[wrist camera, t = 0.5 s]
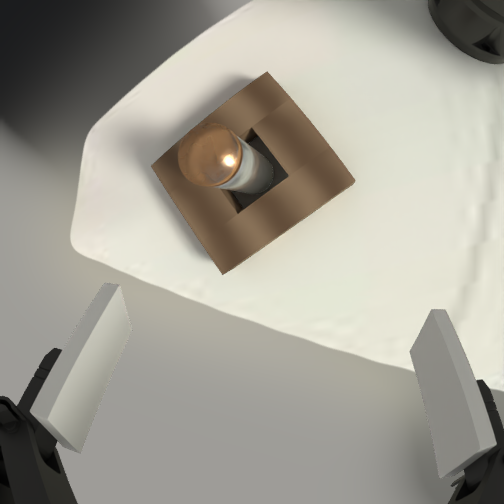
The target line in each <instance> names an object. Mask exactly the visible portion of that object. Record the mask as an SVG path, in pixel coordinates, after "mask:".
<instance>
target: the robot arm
mask: <svg viewBox="0 0 504 504" xmlns="http://www.w3.org/2000/svg"><path fill="white" fill-rule="evenodd" d="M428 6H429V10H430V13H431V16H432V18H433V20H434V22H435V23H436V25H437V26H438V28H439V29H440V30H441V32H442V33H443V34H444V35H445V36H446V37H447V38H448V39H449V40H450V41H451V42H452V43H453V44H454V45H455V46H457V47H458V48H459V49H460V50H462V51H463V52H465V53H466V54H468V55H470V56H472V57H474V58H476V59H478V60H480V61H483V62H487V63H491V64H502V63H504V0H428ZM131 332H132V327H131V324H130V320H129V317H128V313H127V310H126V306H125V302H124V299H123V295H122V291H121V287H120V285H118V284H111V283H104V284H103V286H102V287H101V289H100V290H99V292H98V293H97V295H96V296H95V298H94V300H93V301H92V302H91V304H90V306H89V307H88V309H87V310H86V312H85V313H84V315H83V317H82V318H81V320H80V322H79V323H78V325H77V326H76V328H75V330H74V331H73V333H72V335H71V336H70V338H69V340H68V341H67V343H66V345H65V347H64V348H63V350H61V349H57V348H54V349H52V350H51V351H50V352H49V353H48V354H47V355H46V356H45V357H44V359H43V360H42V362H41V364H40V365H39V369H37V371H36V372H35V374H34V377H33V378H32V380H31V381H30V383H29V385H28V387H27V389H26V390H25V392H24V394H23V396H22V398H21V400H20V402H19V404H18V405H17V406H16V405H15V404H14V403H13V402H12V401H11V400H10V399H9V398H8V397H5V396H0V504H78V503H77V501H76V499H75V496H74V494H73V492H72V489H71V487H70V484H69V481H68V479H67V476H66V473H65V471H64V468H63V465H62V462H61V460H60V457H59V454H58V451H57V449H56V447H55V446H56V443H57V441H58V442H59V443H60V444H61V445H62V446H63V447H65V448H67V449H70V450H72V451H75V452H78V453H81V451H82V448H83V445H84V443H85V440H86V437H87V435H88V432H89V430H90V427H91V425H92V422H93V420H94V417H95V415H96V412H97V410H98V407H99V405H100V402H101V400H102V397H103V395H104V393H105V391H106V388H107V386H108V383H109V381H110V379H111V377H112V374H113V372H114V370H115V367H116V365H117V363H118V361H119V358H120V356H121V354H122V352H123V350H124V347H125V345H126V343H127V341H128V339H129V337H130V334H131ZM410 355H411V358H412V362H413V365H414V369H415V372H416V375H417V379H418V383H419V387H420V390H421V394H422V398H423V402H424V406H425V410H426V414H427V418H428V423H429V427H430V432H431V437H432V441H433V446H434V451H435V456H436V462H437V467H438V473H439V479H441V478H445V477H450V476H454V475H456V474H458V473H459V472H461V471H462V470H464V472H465V475H463V476H462V477H460V478H459V479H457V480H456V481H454V482H453V483H452V485H451V486H452V487H453V486H455V485H456V484H458V483H459V484H458V486H457V487H456V490H455V491H454V493H453V495H452V497H451V499H450V501H449V503H448V504H504V429H503V425H502V422H501V419H500V416H499V413H498V411H497V410H496V409H497V408H496V405H495V402H493V400H494V399H493V396H492V394H491V391H490V389H489V387H488V386H487V385H486V383H485V382H484V381H483V380H476V379H475V377H474V374H473V372H472V369H471V366H470V364H469V361H468V359H467V357H466V354H465V352H464V349H463V347H462V345H461V342H460V340H459V338H458V336H457V333H456V331H455V329H454V327H453V325H452V322H451V320H450V318H449V316H448V314H447V312H446V310H441V309H431V311H430V313H429V315H428V317H427V319H426V321H425V323H424V325H423V327H422V329H421V331H420V333H419V335H418V337H417V339H416V341H415V343H414V344H413V346H412V348H411V350H410Z"/></svg>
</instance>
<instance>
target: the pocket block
mask: <svg viewBox="0 0 504 504" xmlns="http://www.w3.org/2000/svg"><path fill="white" fill-rule="evenodd" d="M204 123H217V124H221V125H223V126H225V127H226V128H228V129H229V130H231V131H232V132H233V133H234V134H235V135H236V136H238V137H239V138H241V139H242V140H243V141H245V142H246V143H247V144H248V143H249V142H251V141H252V140H253V139H255V138H256V137H257V136H259V137H260V138H261V140H262V141H263V142H264V144H265V145H266V146H267V147H268V149H269V150H270V151H271V153H272V154H273V155H274V157H275V158H276V159H277V161H278V162H279V163H280V165H281V166H282V167H283V169H284V170H285V171H286V173H287V174H288V175H289V177H287V178H286V179H284V180H283V181H282V182H280V183H279V184H278V185H276V186H275V187H274V188H272V189H271V190H269V191H268V192H267V193H265V194H264V195H263V196H261V197H260V198H259V199H257V200H256V201H255V202H253V203H252V204H251V205H249V206H248V207H247V208H245V209H243V207H242V206H241V204H240V203H239V202H238V200H237V199H236V197H235V196H234V194H233V193H232V192H231V190H227V189H221V188H216V187H206V186H201V185H197V184H194V183H192V182H191V181H189V180H188V179H187V178H186V177H185V176H184V175H183V173H182V171H181V169H180V167H179V163H178V151H179V147H180V144H181V142H182V140H183V138H184V137H185V136H186V135H185V136H184V137H183V138H181V139H180V140H179V141H178V142H177V143H176V144H175V145H173V146H172V147H171V148H170V149H169V150H168V151H167V152H166V153H164V154H163V155H162V156H161V157H160V158H159V159H158V160H157V161H156V162H155V163H154V164H153V165H151V167H152V169H153V170H154V172H155V173H156V175H157V177H158V178H159V180H160V181H161V183H162V184H163V186H164V187H165V189H166V191H167V192H168V194H169V195H170V197H171V198H172V200H173V201H174V203H175V204H176V206H177V207H178V209H179V210H180V212H181V214H182V215H183V217H184V218H185V220H186V221H187V223H188V224H189V226H190V227H191V229H192V230H193V232H194V233H195V235H196V236H197V238H198V239H199V241H200V242H201V244H202V245H203V247H204V248H205V250H206V251H207V253H208V254H209V256H210V257H211V258H212V260H213V261H214V263H215V264H216V266H217V267H218V269H219V270H220V272H221V273H222V275H223V274H225V273H227V272H228V271H230V270H232V269H233V268H235V267H236V266H238V265H239V264H241V263H242V262H243V261H245V260H246V259H248V258H249V257H251V256H252V255H253V254H255V253H256V252H258V251H259V250H261V249H262V248H263V247H265V246H266V245H268V244H269V243H270V242H272V241H273V240H275V239H276V238H278V237H279V236H280V235H282V234H283V233H285V232H286V231H288V230H289V229H290V228H292V227H293V226H295V225H296V224H297V223H299V222H300V221H302V220H303V219H305V218H306V217H307V216H309V215H310V214H312V213H313V212H314V211H316V210H317V209H319V208H320V207H322V206H323V205H324V204H326V203H327V202H329V201H330V200H331V199H333V198H334V197H336V196H337V195H339V194H340V193H341V192H343V191H344V190H346V189H347V188H348V187H350V186H351V185H353V184H354V183H355V179H354V178H353V176H352V175H351V174H350V172H349V171H348V170H347V168H346V167H345V165H344V164H343V163H342V161H341V160H340V159H339V157H338V156H337V155H336V153H335V152H334V151H333V149H332V148H331V147H330V146H329V144H328V143H327V142H326V140H325V139H324V138H323V137H322V135H321V134H320V133H319V131H318V130H317V129H316V128H315V126H314V125H313V124H312V123H311V121H310V120H309V119H308V118H307V117H306V115H305V114H304V113H303V112H302V111H301V109H300V108H299V107H298V106H297V105H296V103H295V102H294V101H293V100H292V99H291V98H290V96H289V95H288V94H287V93H286V92H285V91H284V90H283V88H282V87H281V86H280V85H279V84H278V83H277V82H276V81H275V79H274V78H273V77H272V76H271V75H270V74H269V73H268V72H266V73H264V74H263V75H261V76H260V77H258V78H257V79H256V80H254V81H253V82H252V83H250V84H249V85H248V86H246V87H245V88H243V89H242V90H241V91H239V92H238V93H237V94H236V95H234V96H233V97H232V98H230V99H229V100H228V101H226V102H225V103H224V104H223V105H221V106H220V107H219V108H218V109H216V110H215V111H214V112H213V113H211V114H210V115H209V116H208V117H206V118H205V119H204V120H203V121H201V122H200V123H199V124H198V125H201V124H204ZM198 125H197V126H198ZM195 127H196V126H195ZM195 127H194V128H195Z"/></svg>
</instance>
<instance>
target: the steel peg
mask: <svg viewBox="0 0 504 504" xmlns="http://www.w3.org/2000/svg"><path fill="white" fill-rule="evenodd" d="M178 163H179V167H180V169H181V171H182V173H183V175H184V176H185V177H186V178H187V179H188V180H189V181H191V182H192V183H194V184H197V185H201V186H206V187H216V188H221V189H227V190H232V191H238V192H243V193H248V194H258V193H261V192H263V191H265V190H266V189H267V188H268V187H269V186H270V184H271V183H272V180H273V176H274V171H273V167H272V164H271V163H270V161H269V160H268V159H267V158H266V157H264V156H263V155H262V154H260V153H259V152H258V151H257V150H255V149H254V148H253V147H251V146H250V145H249V144H247V143H246V142H245V141H243V140H242V139H241V138H239V137H238V136H236V135H235V134H234V133H233V132H232V131H231V130H229V129H228V128H226V127H225V126H223V125H221V124H217V123H204V124H201V125H198V126H196V127H195V128H193V129H192V130H190V131H189V132H188V133H187V134H186V136H185V137H184V138H183V140H182V142H181V144H180V147H179V151H178Z"/></svg>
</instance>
